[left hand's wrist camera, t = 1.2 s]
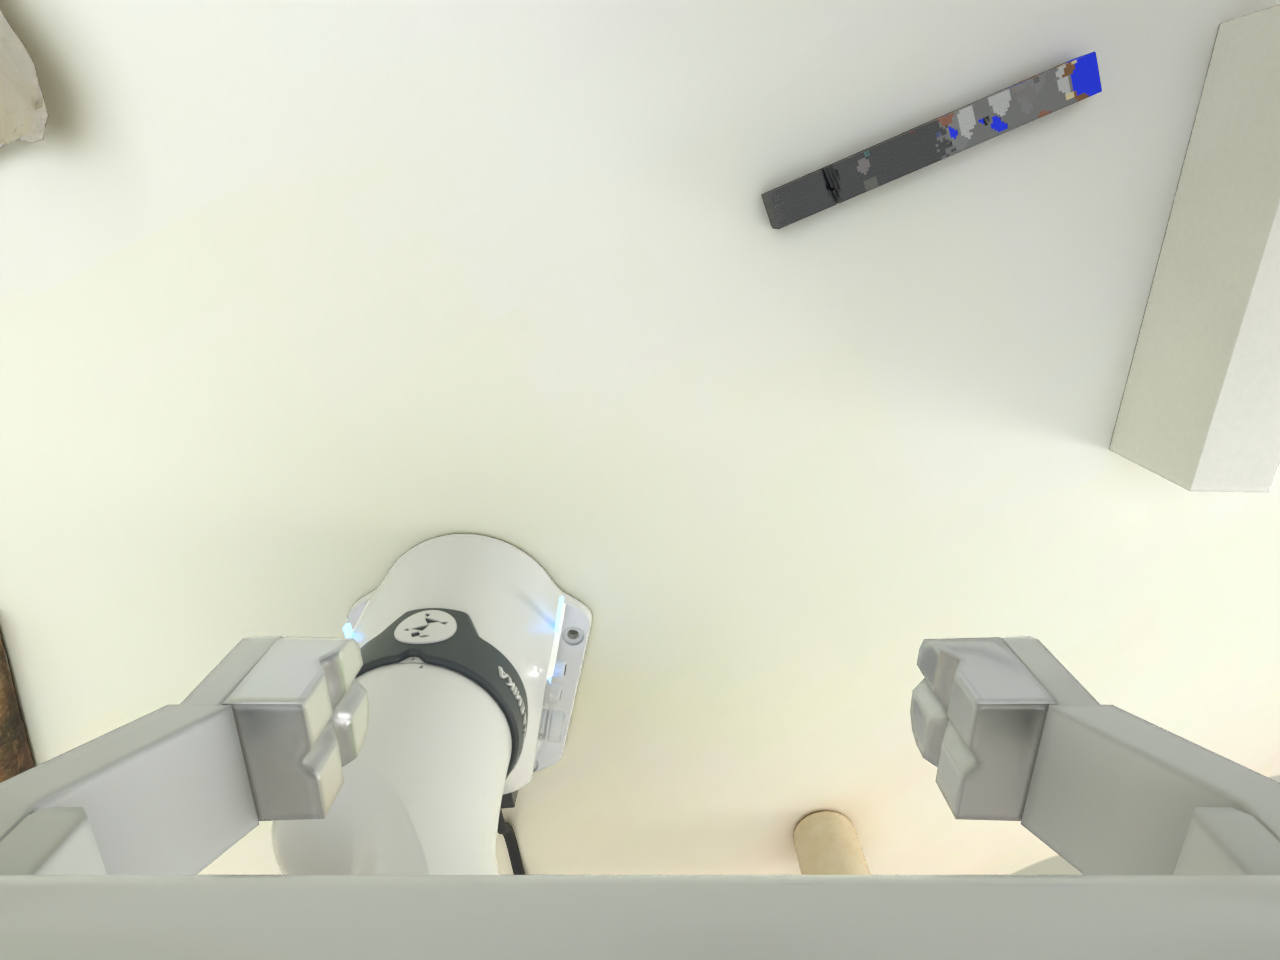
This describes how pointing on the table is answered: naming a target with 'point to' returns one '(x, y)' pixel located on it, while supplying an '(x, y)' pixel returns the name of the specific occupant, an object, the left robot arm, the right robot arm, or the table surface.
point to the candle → (828, 846)
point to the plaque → (11, 727)
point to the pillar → (934, 140)
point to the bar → (1217, 287)
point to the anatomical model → (19, 91)
